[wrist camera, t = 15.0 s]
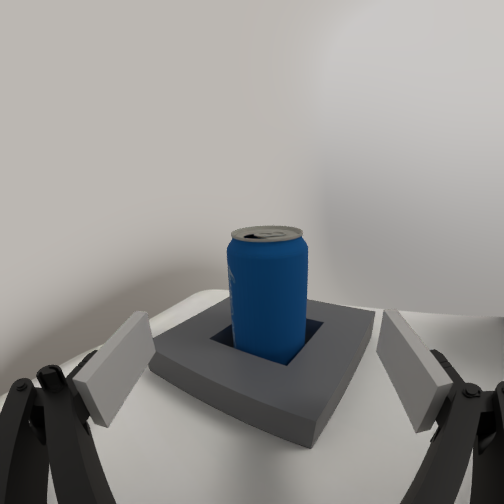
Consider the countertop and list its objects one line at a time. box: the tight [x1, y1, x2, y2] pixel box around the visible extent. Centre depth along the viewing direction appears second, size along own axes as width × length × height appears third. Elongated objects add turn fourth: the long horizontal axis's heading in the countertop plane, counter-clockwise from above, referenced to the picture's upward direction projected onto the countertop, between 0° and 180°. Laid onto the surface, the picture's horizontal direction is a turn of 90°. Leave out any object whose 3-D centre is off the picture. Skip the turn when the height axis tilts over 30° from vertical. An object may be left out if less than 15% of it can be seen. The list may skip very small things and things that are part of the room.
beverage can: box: [227, 226, 308, 366], centre depth 24 cm, size 6×6×12 cm
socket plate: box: [148, 297, 375, 448], centre depth 25 cm, size 16×16×3 cm
